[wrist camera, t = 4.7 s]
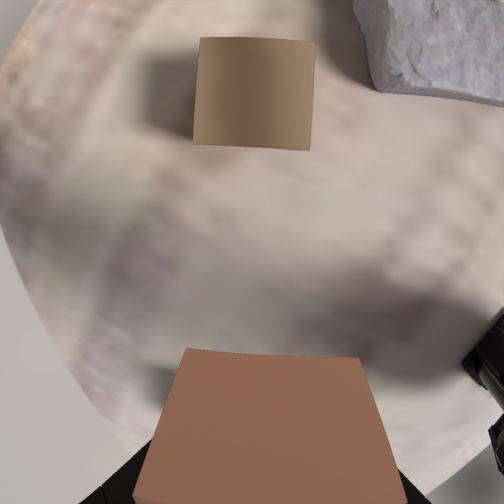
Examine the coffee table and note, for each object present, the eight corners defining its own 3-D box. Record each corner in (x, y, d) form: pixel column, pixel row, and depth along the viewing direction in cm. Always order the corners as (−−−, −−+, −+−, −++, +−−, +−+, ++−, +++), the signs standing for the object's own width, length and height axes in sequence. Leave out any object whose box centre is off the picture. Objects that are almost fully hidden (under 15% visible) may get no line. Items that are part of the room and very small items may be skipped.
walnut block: (303, 68, 16) (315, 42, 12) (298, 150, 18) (309, 150, 13) (217, 63, 16) (200, 37, 12) (212, 145, 18) (192, 144, 13)
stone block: (336, -16, 16) (369, 107, 17) (350, -59, 11) (399, 77, 12) (471, 8, 15) (508, 119, 16) (499, -19, 10) (550, 104, 11)
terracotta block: (358, 357, 9) (407, 502, 4) (326, 456, 10) (340, 568, 6) (186, 347, 9) (132, 495, 4) (194, 449, 10) (170, 561, 6)
